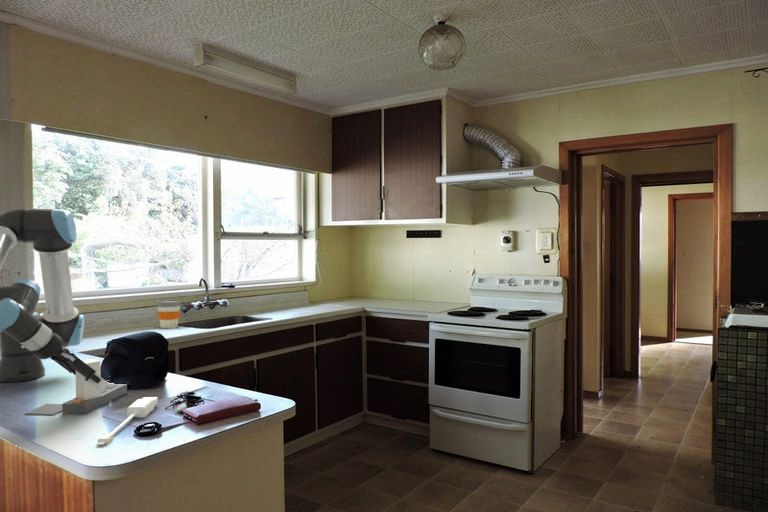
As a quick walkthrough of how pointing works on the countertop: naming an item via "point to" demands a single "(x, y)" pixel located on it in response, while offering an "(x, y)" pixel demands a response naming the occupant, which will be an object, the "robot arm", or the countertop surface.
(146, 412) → the charging cable
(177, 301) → the reusable coffee cup
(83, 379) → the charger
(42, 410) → the mat
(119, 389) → the strip
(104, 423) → the countertop surface
